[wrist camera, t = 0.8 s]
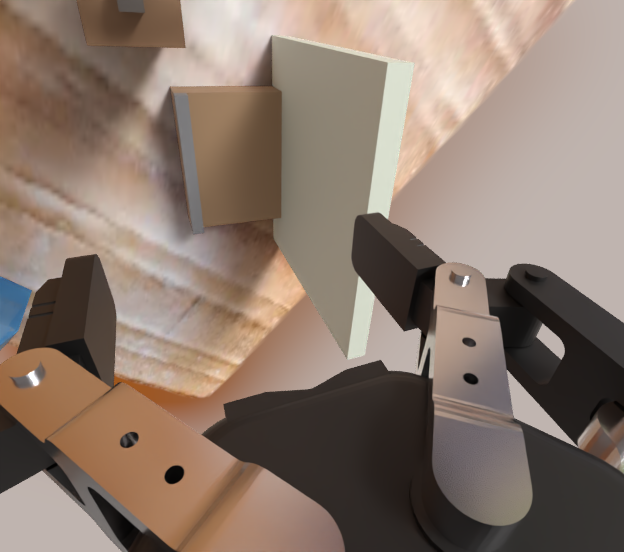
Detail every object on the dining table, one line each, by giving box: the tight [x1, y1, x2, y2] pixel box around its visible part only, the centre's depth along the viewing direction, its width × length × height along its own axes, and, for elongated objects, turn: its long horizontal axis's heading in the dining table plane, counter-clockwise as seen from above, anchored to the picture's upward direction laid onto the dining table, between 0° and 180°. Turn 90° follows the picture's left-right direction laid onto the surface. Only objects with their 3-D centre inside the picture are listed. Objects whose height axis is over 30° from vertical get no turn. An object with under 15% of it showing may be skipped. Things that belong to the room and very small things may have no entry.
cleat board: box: [170, 35, 415, 360], centre depth 31 cm, size 20×10×20 cm, turn 177°
